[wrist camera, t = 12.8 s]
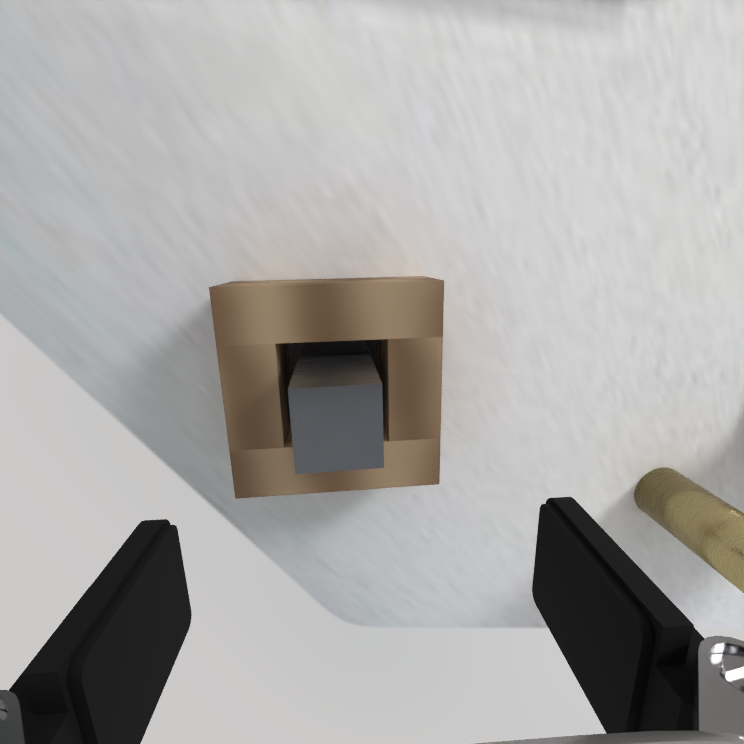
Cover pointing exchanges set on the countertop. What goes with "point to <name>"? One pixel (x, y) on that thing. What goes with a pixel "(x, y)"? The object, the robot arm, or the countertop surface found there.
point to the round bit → (696, 520)
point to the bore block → (322, 324)
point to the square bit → (336, 408)
